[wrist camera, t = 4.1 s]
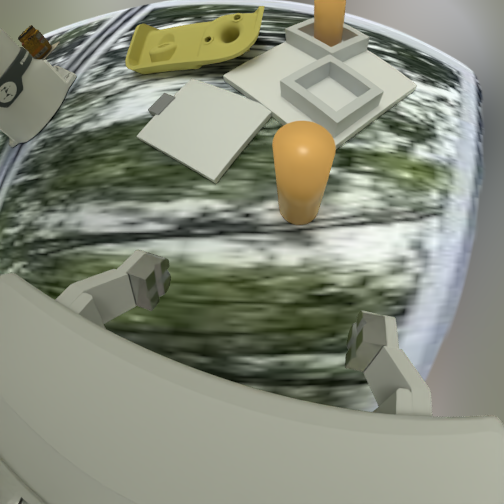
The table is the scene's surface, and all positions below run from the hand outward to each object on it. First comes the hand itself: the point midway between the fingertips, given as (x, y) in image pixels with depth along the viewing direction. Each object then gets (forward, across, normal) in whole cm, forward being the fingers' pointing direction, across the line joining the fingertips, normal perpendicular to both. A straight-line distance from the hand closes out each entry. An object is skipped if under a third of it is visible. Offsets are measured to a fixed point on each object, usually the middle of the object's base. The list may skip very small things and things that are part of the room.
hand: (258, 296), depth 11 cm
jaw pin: (+15, 0, +3) cm, 15 cm away
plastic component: (+30, +18, -12) cm, 37 cm away
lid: (+20, +12, -2) cm, 23 cm away
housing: (+27, 0, -10) cm, 29 cm away
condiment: (+40, +75, -22) cm, 88 cm away
